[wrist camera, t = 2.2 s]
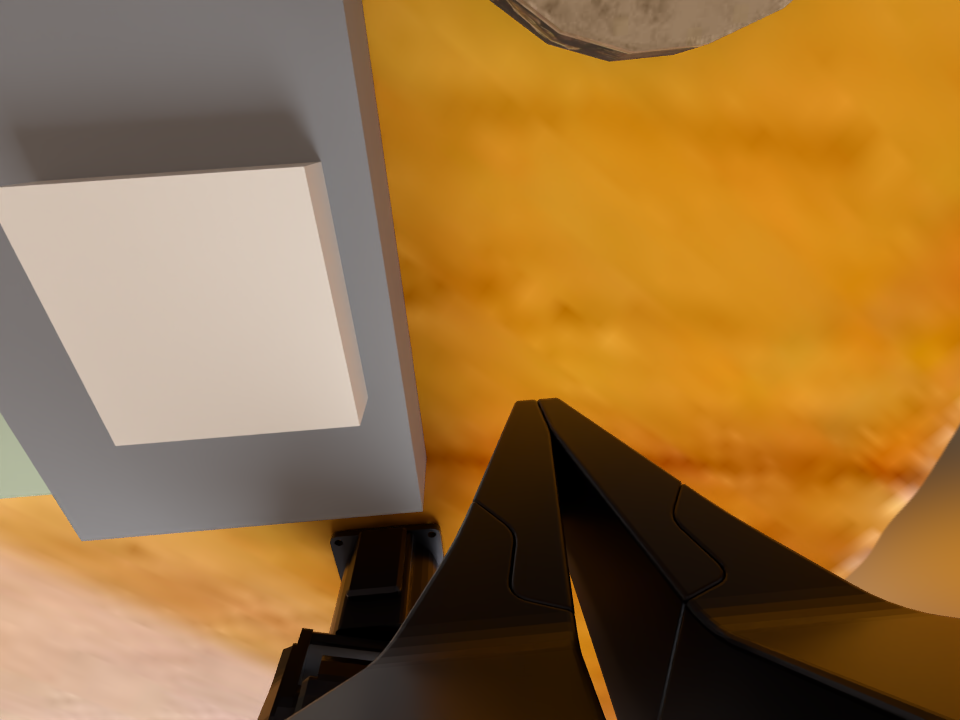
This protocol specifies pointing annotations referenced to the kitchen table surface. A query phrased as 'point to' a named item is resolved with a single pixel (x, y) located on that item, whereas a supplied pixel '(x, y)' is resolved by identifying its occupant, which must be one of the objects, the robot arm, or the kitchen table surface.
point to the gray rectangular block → (200, 146)
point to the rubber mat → (17, 468)
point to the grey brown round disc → (635, 23)
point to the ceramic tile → (195, 298)
